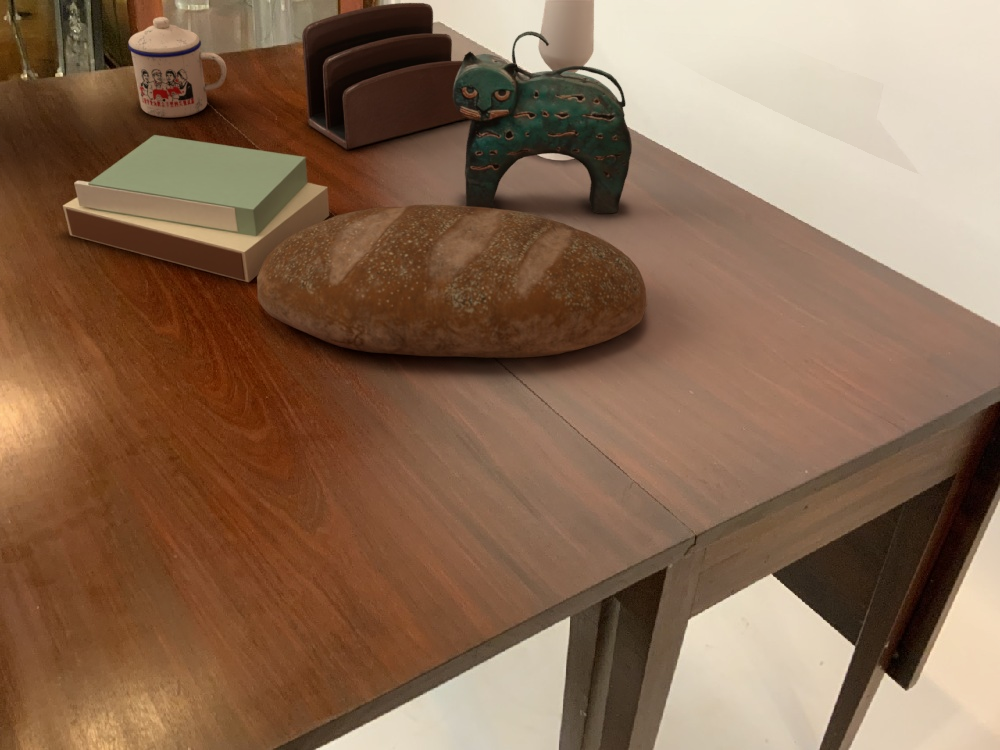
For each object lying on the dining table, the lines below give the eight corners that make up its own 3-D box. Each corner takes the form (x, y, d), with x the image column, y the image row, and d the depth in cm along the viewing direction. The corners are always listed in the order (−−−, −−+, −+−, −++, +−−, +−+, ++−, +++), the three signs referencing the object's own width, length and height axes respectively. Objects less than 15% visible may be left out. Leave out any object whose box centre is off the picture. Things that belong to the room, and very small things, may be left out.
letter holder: (307, 125, 128) (298, 17, 120) (429, 96, 139) (429, -6, 130) (347, 152, 122) (341, 39, 114) (472, 119, 133) (475, 13, 124)
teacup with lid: (133, 119, 128) (116, 29, 121) (146, 93, 135) (131, 7, 128) (226, 119, 129) (215, 30, 122) (235, 94, 136) (224, 9, 129)
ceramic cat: (450, 215, 110) (453, 36, 98) (452, 189, 115) (455, 17, 103) (625, 220, 111) (649, 44, 99) (619, 195, 116) (640, 24, 104)
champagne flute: (582, 140, 129) (601, -53, 114) (584, 161, 123) (605, -39, 109) (531, 137, 129) (544, -56, 114) (531, 159, 123) (545, -42, 109)
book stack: (69, 235, 102) (55, 178, 99) (165, 176, 115) (156, 124, 111) (248, 283, 96) (240, 224, 93) (329, 215, 109) (325, 161, 105)
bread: (282, 243, 103) (274, 169, 98) (630, 255, 104) (640, 183, 99) (238, 365, 85) (226, 282, 80) (657, 378, 87) (671, 298, 81)
